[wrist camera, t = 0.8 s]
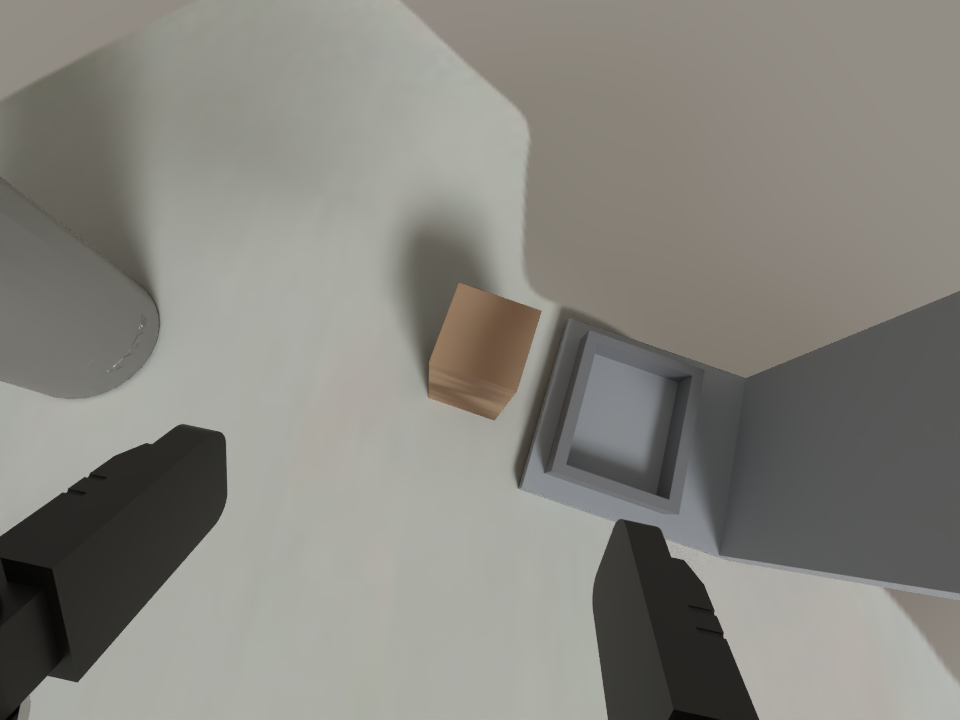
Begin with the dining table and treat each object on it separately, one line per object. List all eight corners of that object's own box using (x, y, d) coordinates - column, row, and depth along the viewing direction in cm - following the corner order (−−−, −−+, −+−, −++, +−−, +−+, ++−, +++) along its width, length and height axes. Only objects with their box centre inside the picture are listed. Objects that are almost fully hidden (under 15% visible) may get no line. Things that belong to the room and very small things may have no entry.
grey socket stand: (518, 488, 33) (659, 458, 13) (565, 323, 37) (728, 108, 17) (730, 560, 33) (1189, 639, 13) (754, 388, 38) (1134, 249, 17)
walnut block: (428, 397, 35) (429, 361, 26) (454, 326, 36) (463, 270, 28) (494, 420, 35) (517, 391, 26) (517, 348, 36) (545, 298, 28)
